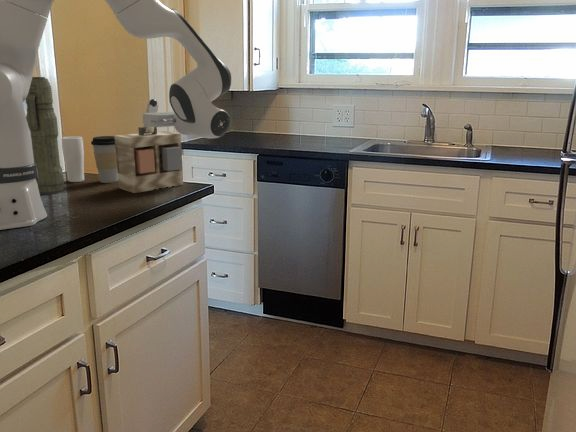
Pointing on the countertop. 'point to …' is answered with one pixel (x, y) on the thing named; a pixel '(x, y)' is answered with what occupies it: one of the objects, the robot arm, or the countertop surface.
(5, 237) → the countertop surface
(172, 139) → the console
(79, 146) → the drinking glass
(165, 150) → the key charcoal
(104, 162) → the coffee cup
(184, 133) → the robot arm
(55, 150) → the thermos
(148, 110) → the toggle lever
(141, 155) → the key terracotta
